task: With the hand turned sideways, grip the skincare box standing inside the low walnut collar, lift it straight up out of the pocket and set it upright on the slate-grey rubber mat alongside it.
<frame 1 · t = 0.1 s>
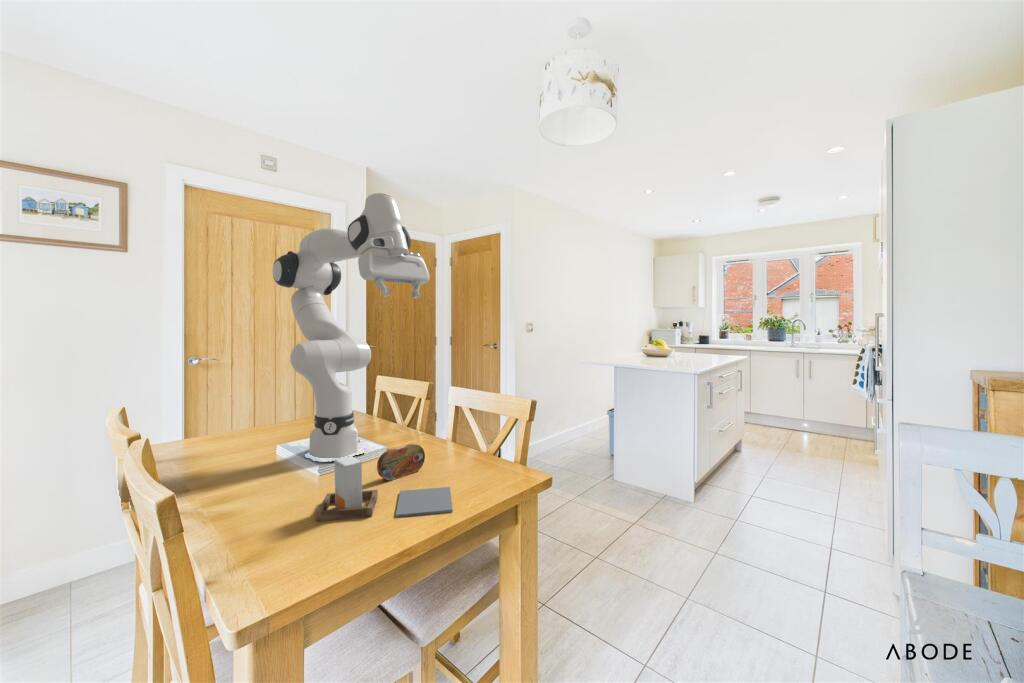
hand: (401, 296, 105), 52 cm above the table, tool tilted 20°, fingers open, 8 cm apart
tin: (401, 475, 115), on the table
slate mat: (425, 502, 98), on the table
walnut collar: (348, 508, 94), on the table
skincare box: (348, 509, 95), resting in walnut collar
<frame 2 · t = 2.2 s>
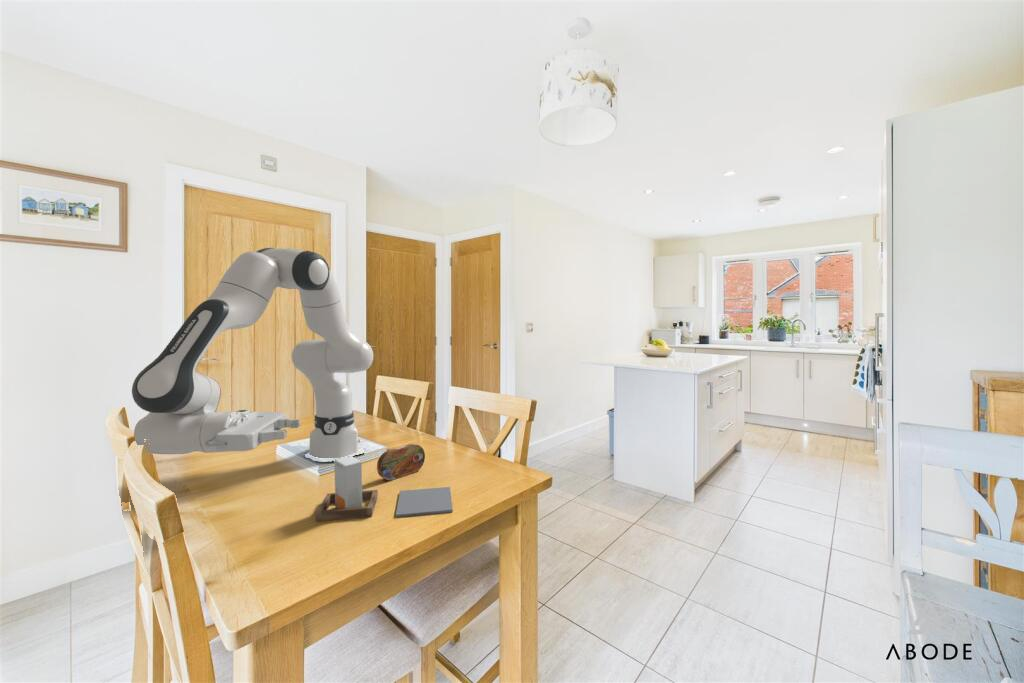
hand: (293, 428, 91), 20 cm above the table, tool horizontal, fingers open, 8 cm apart
nothing on the table moved.
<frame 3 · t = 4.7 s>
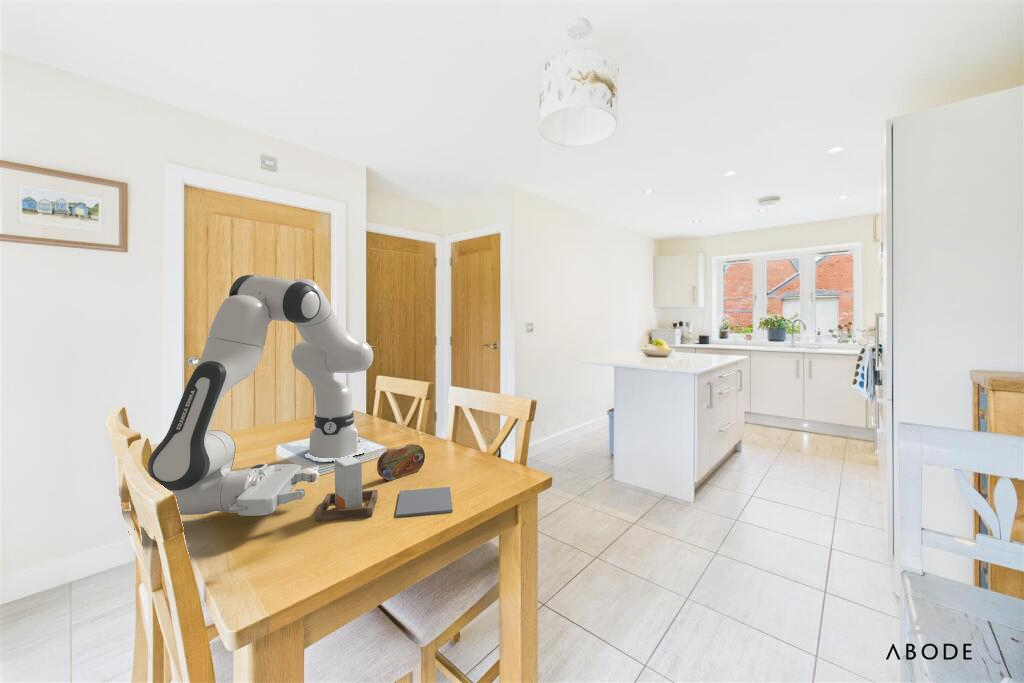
hand: (310, 485, 92), 6 cm above the table, tool horizontal, fingers open, 8 cm apart
nothing on the table moved.
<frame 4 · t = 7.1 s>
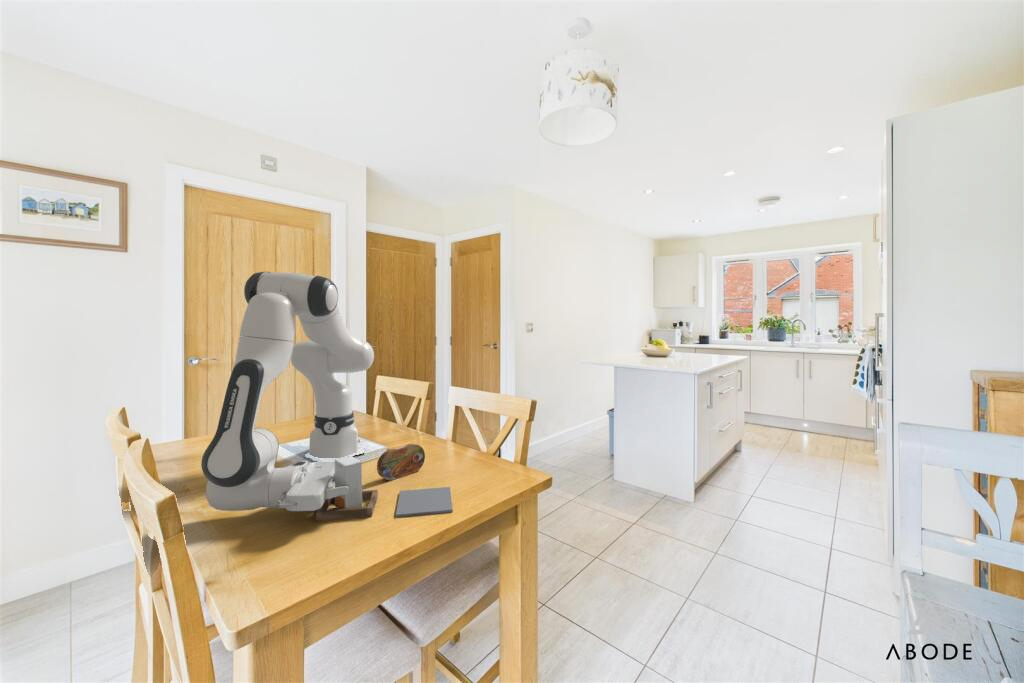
hand: (352, 481, 94), 7 cm above the table, tool horizontal, fingers closed on skincare box, 7 cm apart
skincare box: (348, 509, 95), resting in walnut collar, touching gripper
everything else where it was.
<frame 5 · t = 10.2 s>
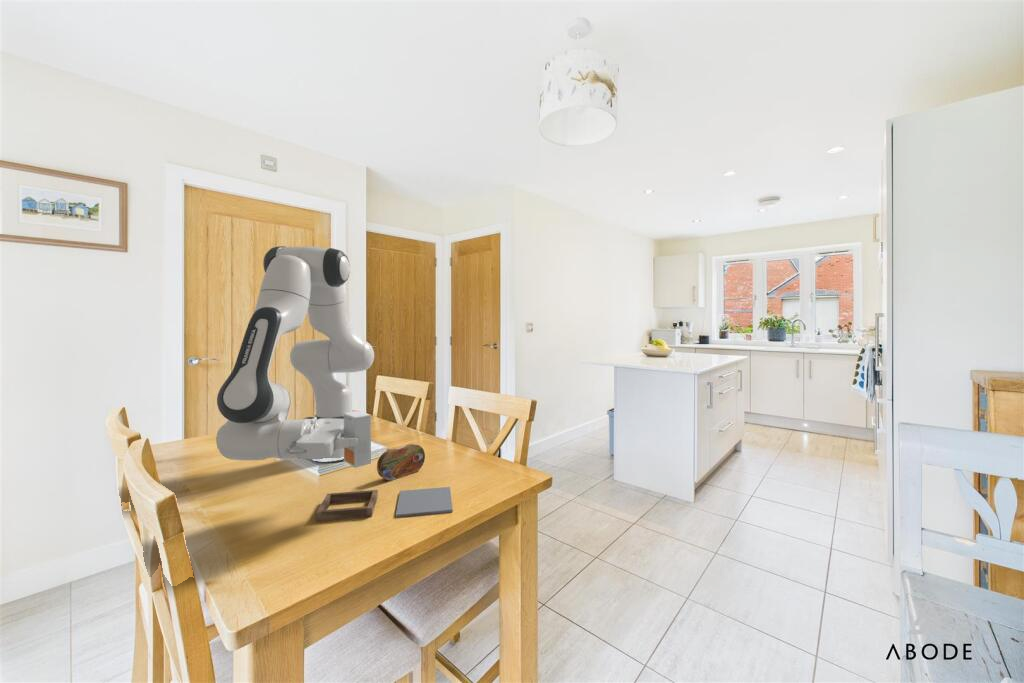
hand: (361, 435, 94), 18 cm above the table, tool horizontal, fingers closed on skincare box, 7 cm apart
skincare box: (357, 463, 94), point 11 cm above the table, touching gripper
everything else where it was.
when the fingers open (8 cm above the table, at t = 13.5 s): skincare box stays where it is, resting on slate mat.
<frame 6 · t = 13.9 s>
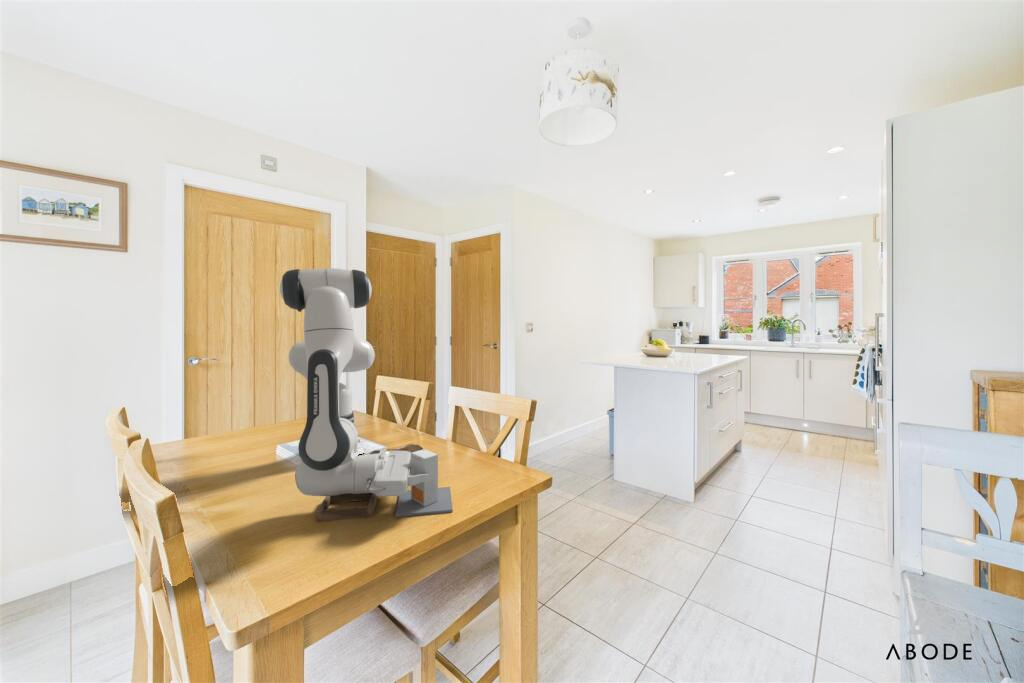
hand: (428, 469, 98), 8 cm above the table, tool horizontal, fingers open, 8 cm apart
skincare box: (424, 501, 98), resting on slate mat
everything else where it was.
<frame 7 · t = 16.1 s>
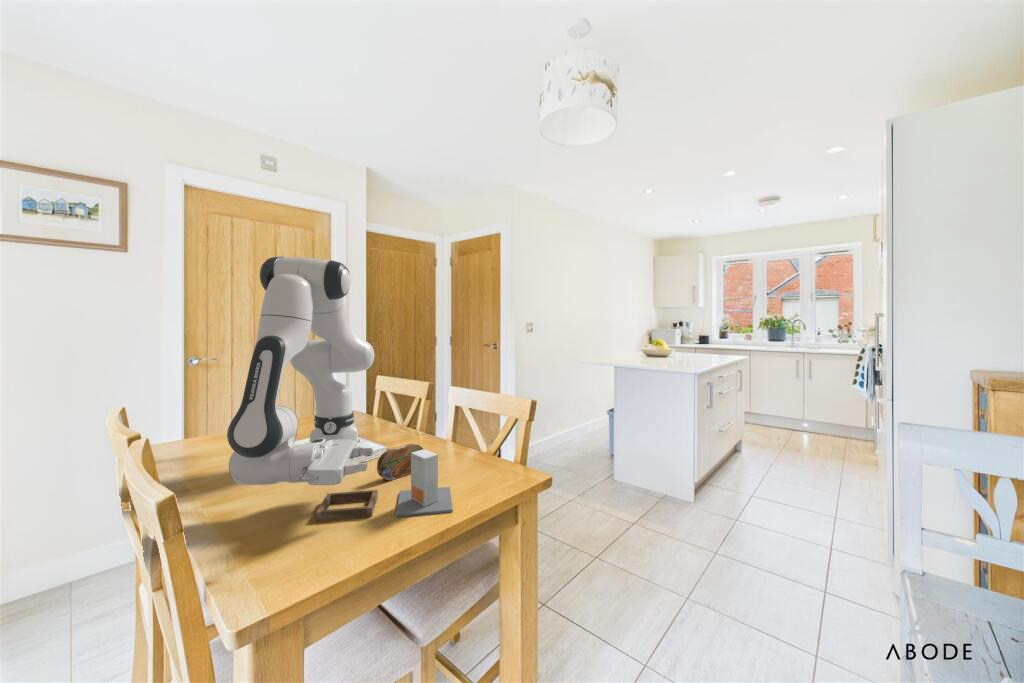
hand: (369, 458, 97), 11 cm above the table, tool horizontal, fingers open, 8 cm apart
nothing on the table moved.
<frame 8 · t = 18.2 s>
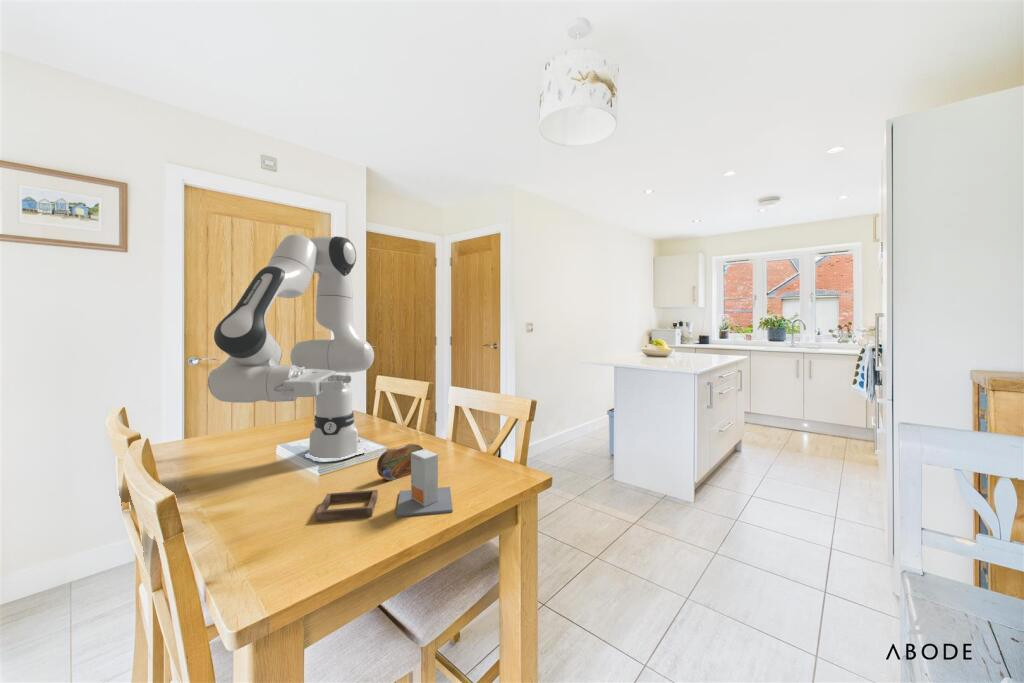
hand: (347, 381, 98), 30 cm above the table, tool horizontal, fingers open, 8 cm apart
nothing on the table moved.
at the end: skincare box inside the target area on the slate mat (0.3 cm from its centre), point 0.4 cm above the slate mat's base; skincare box tilted 0°; the gripper is holding nothing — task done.
